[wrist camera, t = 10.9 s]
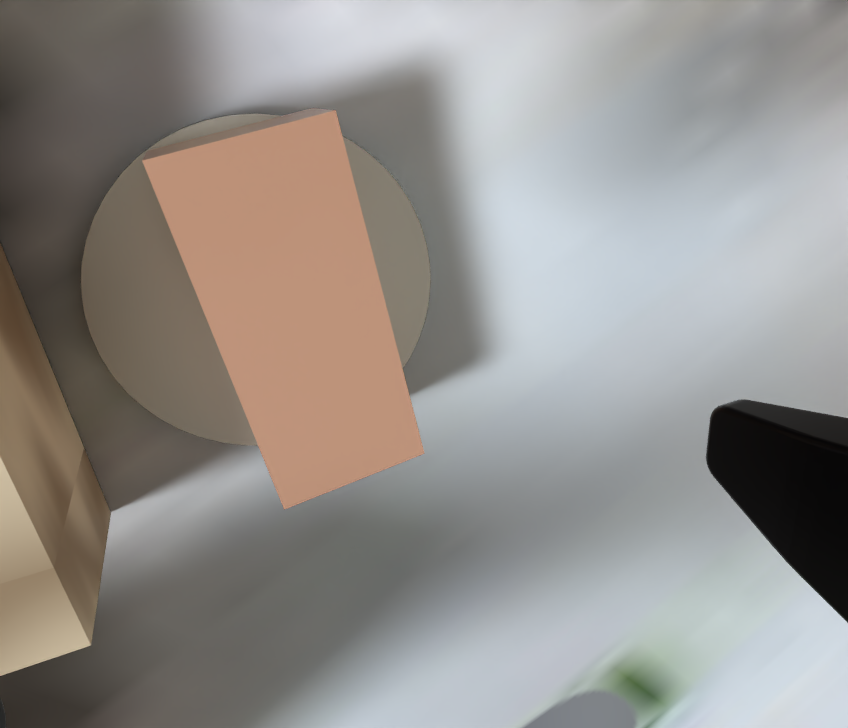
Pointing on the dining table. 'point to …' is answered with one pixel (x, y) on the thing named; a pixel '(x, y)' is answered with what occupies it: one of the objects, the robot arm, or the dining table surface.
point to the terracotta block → (291, 296)
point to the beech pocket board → (42, 502)
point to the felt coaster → (179, 305)
